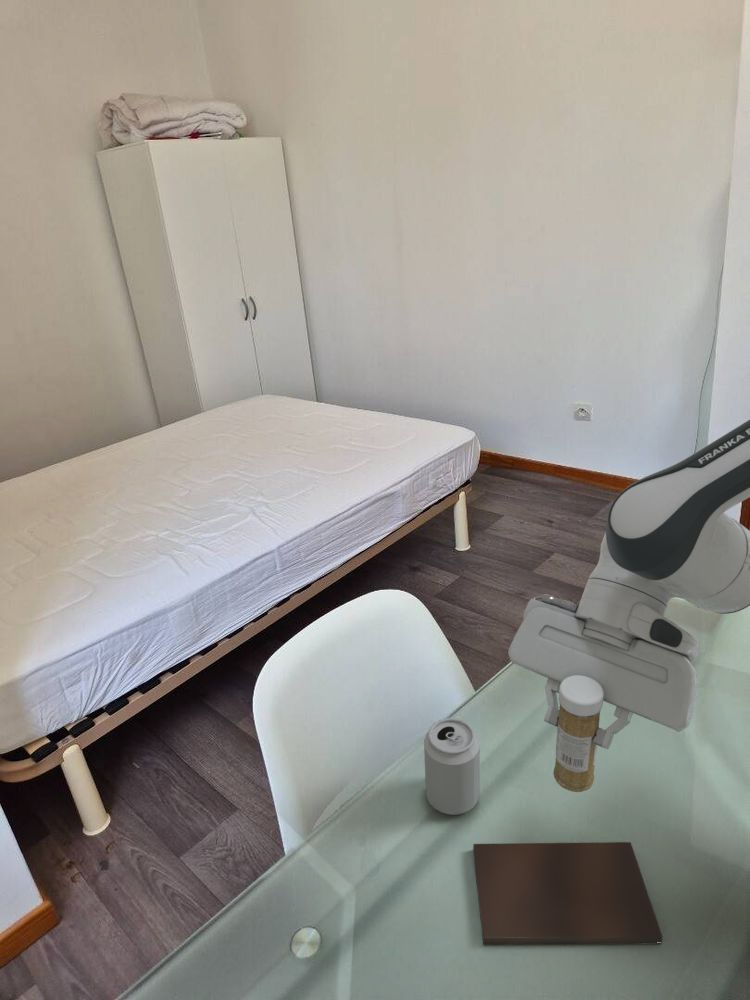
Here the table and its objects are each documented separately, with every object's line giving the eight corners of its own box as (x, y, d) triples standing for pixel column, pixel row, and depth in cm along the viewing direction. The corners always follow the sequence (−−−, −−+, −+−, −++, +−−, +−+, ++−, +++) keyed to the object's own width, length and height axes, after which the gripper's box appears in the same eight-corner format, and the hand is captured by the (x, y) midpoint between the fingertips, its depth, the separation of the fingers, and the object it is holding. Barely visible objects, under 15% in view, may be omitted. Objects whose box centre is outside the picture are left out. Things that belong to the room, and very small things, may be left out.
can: (449, 766, 102) (448, 704, 96) (490, 794, 97) (491, 731, 91) (414, 797, 97) (411, 734, 92) (456, 829, 92) (455, 764, 87)
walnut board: (629, 848, 88) (630, 841, 88) (661, 944, 77) (662, 937, 77) (473, 849, 89) (473, 843, 89) (483, 944, 79) (483, 938, 78)
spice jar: (601, 776, 79) (612, 686, 73) (580, 801, 76) (589, 709, 70) (566, 755, 82) (574, 667, 76) (544, 778, 79) (551, 689, 73)
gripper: (525, 582, 81) (482, 694, 79) (710, 643, 69) (666, 776, 67) (540, 595, 86) (500, 700, 84) (715, 654, 74) (674, 778, 72)
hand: (575, 735), depth 75 cm, fingers closed on spice jar, 4 cm apart
